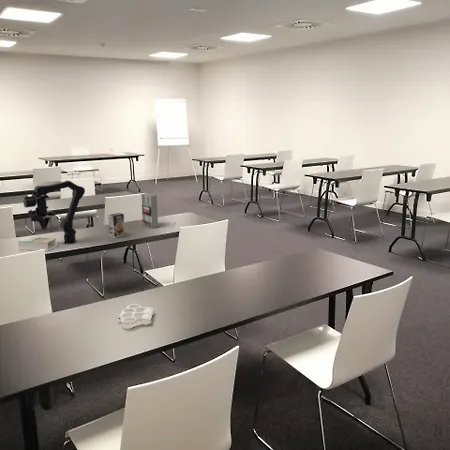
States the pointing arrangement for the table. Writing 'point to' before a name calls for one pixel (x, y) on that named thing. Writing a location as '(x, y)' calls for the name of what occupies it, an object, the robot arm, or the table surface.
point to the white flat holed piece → (145, 314)
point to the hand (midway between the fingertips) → (44, 229)
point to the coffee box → (116, 225)
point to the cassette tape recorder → (149, 210)
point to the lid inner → (44, 240)
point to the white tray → (36, 246)
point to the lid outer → (29, 239)
